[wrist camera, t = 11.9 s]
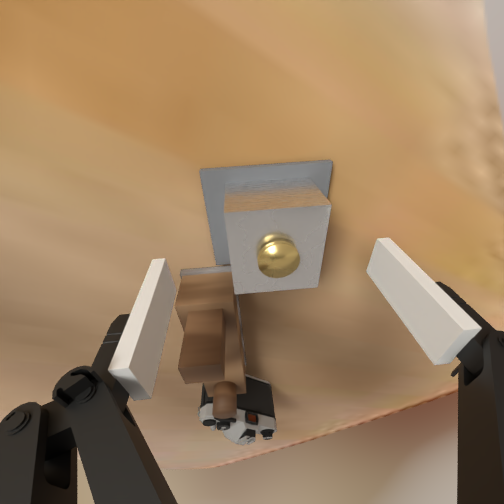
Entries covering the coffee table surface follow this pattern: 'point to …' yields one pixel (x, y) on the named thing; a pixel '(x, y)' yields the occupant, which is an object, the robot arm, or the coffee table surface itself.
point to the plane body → (212, 336)
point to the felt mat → (217, 178)
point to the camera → (244, 413)
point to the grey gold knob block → (275, 234)
